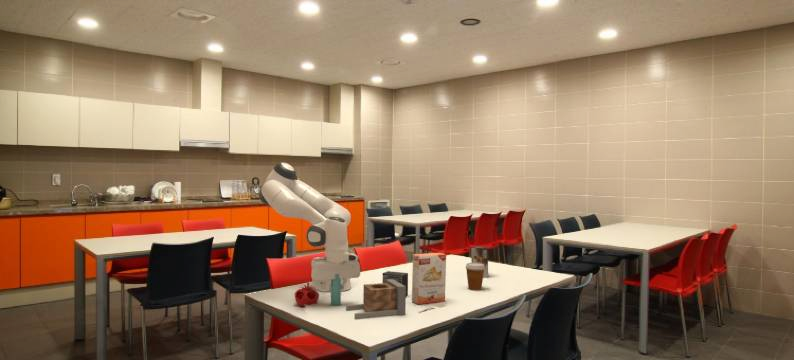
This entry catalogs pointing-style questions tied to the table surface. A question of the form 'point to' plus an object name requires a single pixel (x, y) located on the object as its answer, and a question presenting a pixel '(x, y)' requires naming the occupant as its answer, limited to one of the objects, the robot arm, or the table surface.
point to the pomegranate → (306, 296)
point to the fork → (433, 308)
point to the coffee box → (480, 257)
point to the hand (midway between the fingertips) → (335, 289)
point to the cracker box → (428, 278)
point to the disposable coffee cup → (475, 275)
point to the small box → (397, 278)
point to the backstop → (398, 311)
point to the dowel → (336, 291)
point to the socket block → (379, 297)
